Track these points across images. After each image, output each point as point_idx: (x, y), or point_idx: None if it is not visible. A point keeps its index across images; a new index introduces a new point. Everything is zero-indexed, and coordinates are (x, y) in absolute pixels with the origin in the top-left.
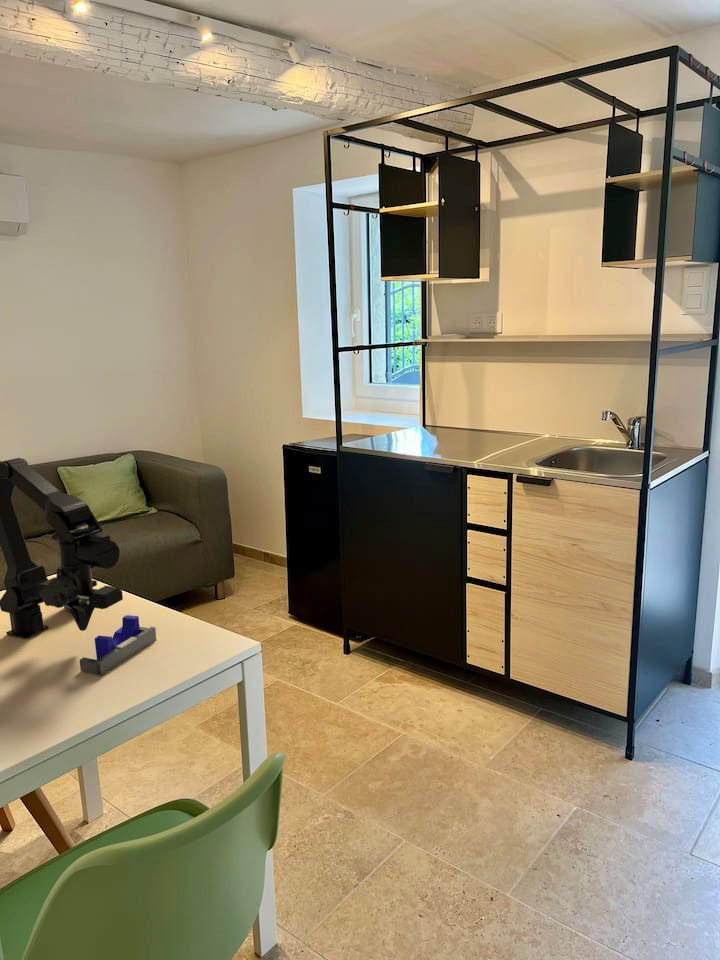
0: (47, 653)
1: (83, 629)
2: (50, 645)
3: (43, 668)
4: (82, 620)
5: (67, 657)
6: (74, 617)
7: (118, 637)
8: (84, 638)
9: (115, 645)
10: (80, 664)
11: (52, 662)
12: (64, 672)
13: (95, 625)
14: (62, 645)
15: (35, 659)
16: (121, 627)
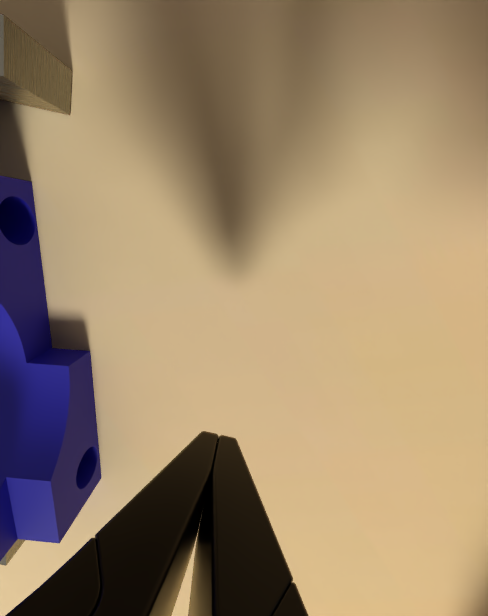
0: (430, 281)
1: (197, 442)
2: (460, 379)
3: (351, 65)
4: (125, 511)
5: (272, 248)
6: (263, 569)
7: (22, 440)
8: (301, 469)
9: (15, 370)
10: (30, 40)
11: (333, 166)
12: (169, 33)
13: (320, 588)
14: (385, 386)
15: (474, 190)
16: (54, 540)
